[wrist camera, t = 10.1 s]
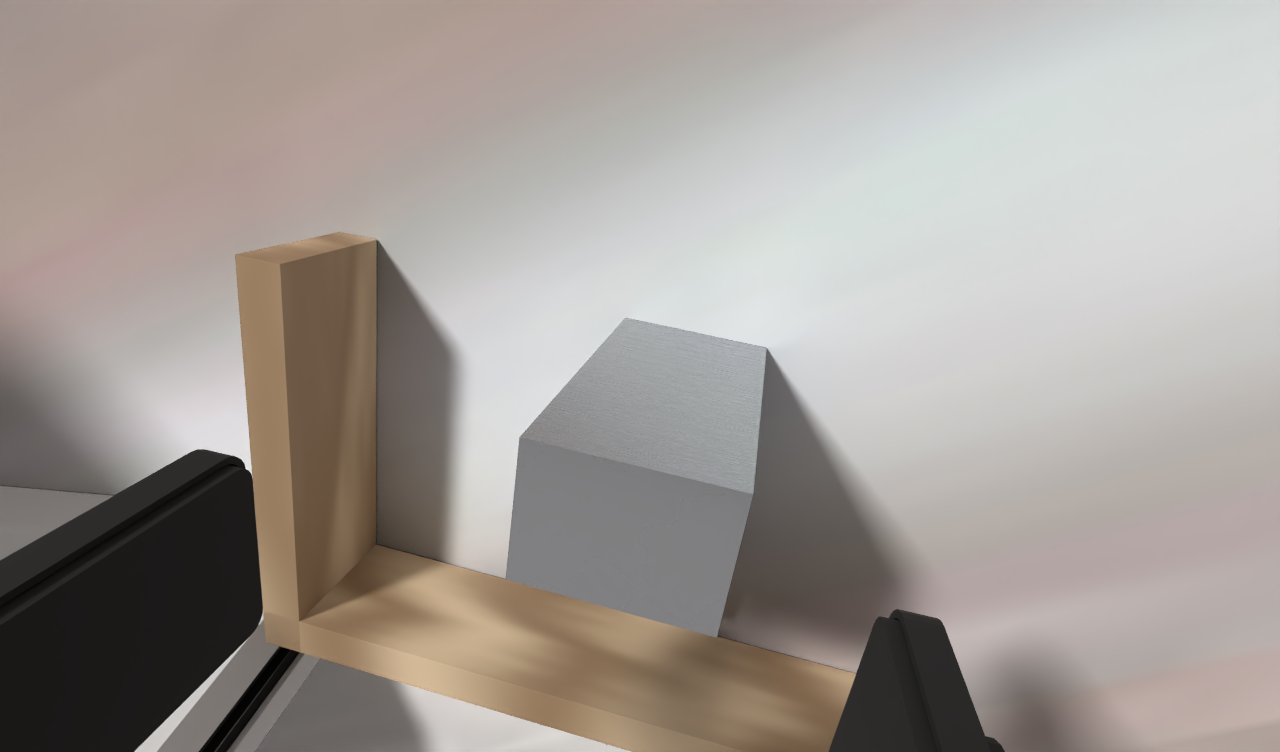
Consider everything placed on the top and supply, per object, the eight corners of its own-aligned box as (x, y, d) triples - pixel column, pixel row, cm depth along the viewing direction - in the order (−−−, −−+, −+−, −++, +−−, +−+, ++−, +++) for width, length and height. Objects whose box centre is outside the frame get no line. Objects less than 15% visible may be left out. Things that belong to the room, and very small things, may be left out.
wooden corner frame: (346, 563, 24) (265, 642, 20) (339, 232, 19) (234, 254, 16) (849, 702, 21) (863, 820, 18) (973, 358, 17) (1025, 420, 13)
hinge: (321, 513, 23) (93, 844, 16) (369, 589, 26) (197, 899, 19) (-42, 481, 27) (-372, 741, 19) (37, 552, 30) (-221, 801, 22)
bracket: (625, 317, 19) (519, 437, 11) (766, 347, 18) (753, 494, 11) (589, 550, 21) (486, 767, 14) (710, 583, 21) (669, 824, 14)
